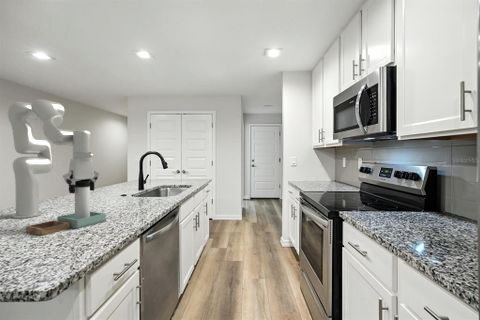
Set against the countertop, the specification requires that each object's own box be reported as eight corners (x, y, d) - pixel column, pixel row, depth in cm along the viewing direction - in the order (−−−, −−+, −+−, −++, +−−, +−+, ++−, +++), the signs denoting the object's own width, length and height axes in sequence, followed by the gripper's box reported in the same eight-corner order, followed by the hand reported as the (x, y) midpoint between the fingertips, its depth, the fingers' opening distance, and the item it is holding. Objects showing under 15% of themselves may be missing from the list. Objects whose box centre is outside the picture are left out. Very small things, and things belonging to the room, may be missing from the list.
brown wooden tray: (26, 232, 111) (26, 226, 111) (54, 225, 121) (53, 220, 121) (41, 235, 107) (41, 229, 107) (69, 228, 117) (69, 223, 117)
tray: (57, 225, 122) (57, 216, 122) (86, 218, 135) (86, 210, 135) (77, 229, 116) (77, 220, 116) (105, 221, 130) (105, 213, 129)
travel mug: (93, 219, 129) (93, 179, 129) (84, 223, 123) (83, 180, 122) (81, 219, 130) (81, 179, 130) (71, 222, 123) (71, 180, 123)
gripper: (93, 156, 135) (93, 189, 135) (58, 156, 119) (58, 193, 119) (103, 156, 132) (103, 190, 132) (68, 156, 116) (69, 194, 116)
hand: (82, 191), depth 126 cm, fingers open, 9 cm apart
